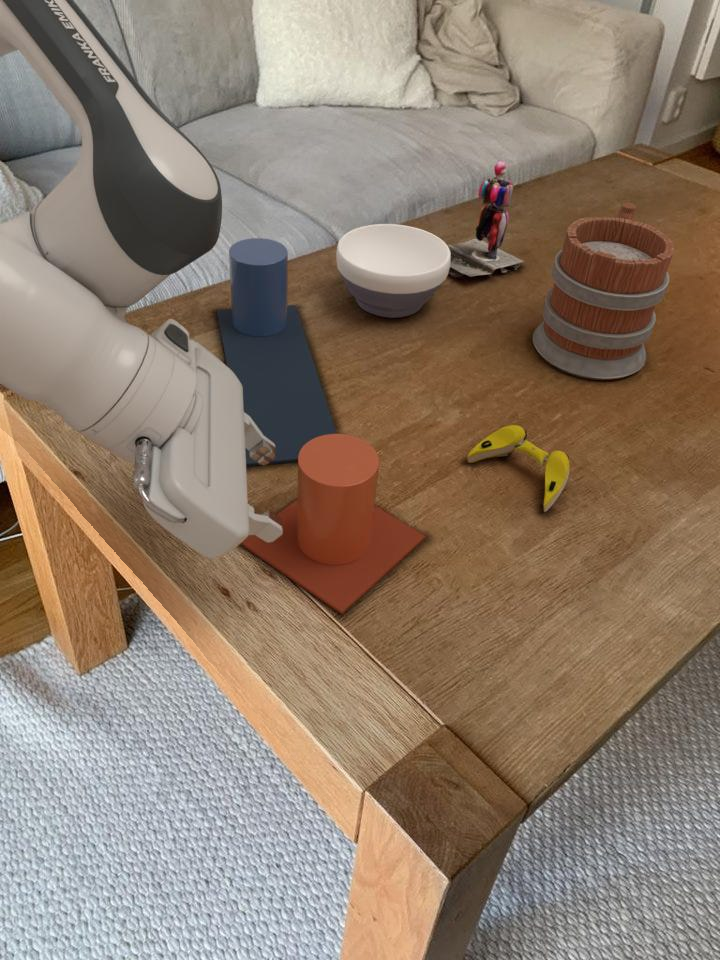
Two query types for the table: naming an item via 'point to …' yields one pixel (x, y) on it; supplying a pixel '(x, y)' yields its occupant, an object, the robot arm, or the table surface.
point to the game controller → (515, 440)
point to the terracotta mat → (337, 581)
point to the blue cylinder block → (259, 286)
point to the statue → (487, 232)
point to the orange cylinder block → (336, 498)
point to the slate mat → (278, 385)
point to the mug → (604, 296)
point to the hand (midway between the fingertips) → (273, 492)
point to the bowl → (392, 267)
